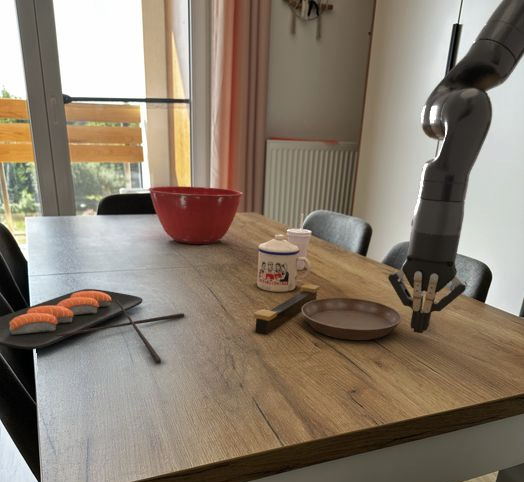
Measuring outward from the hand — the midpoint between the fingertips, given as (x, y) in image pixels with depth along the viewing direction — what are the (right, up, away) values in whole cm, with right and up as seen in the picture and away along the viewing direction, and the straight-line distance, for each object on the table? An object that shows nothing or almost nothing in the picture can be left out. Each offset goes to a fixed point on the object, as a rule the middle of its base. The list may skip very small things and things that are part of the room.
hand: (418, 331), depth 88 cm
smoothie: (-18, +18, +46) cm, 53 cm away
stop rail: (-22, +3, +10) cm, 24 cm away
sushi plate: (-53, 0, -3) cm, 53 cm away
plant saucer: (-11, +1, +5) cm, 12 cm away
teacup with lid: (-22, +11, +28) cm, 37 cm away
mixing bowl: (-48, +31, +75) cm, 94 cm away
